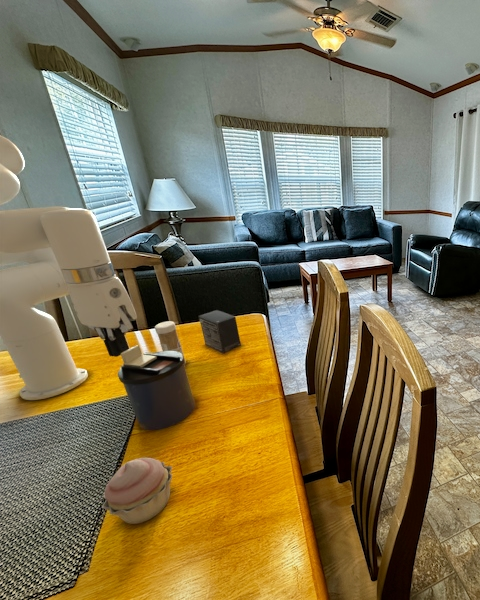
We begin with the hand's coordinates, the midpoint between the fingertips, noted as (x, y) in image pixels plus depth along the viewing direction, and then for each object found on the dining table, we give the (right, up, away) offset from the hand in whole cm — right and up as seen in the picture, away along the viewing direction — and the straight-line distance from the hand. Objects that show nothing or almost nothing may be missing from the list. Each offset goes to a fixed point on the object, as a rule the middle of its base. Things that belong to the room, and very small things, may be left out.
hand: (120, 353), depth 72 cm
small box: (+5, -3, +33) cm, 34 cm away
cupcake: (+19, -23, -17) cm, 35 cm away
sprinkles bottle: (-3, -8, +22) cm, 24 cm away
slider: (+5, -2, 0) cm, 5 cm away
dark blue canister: (+8, -15, +4) cm, 17 cm away
